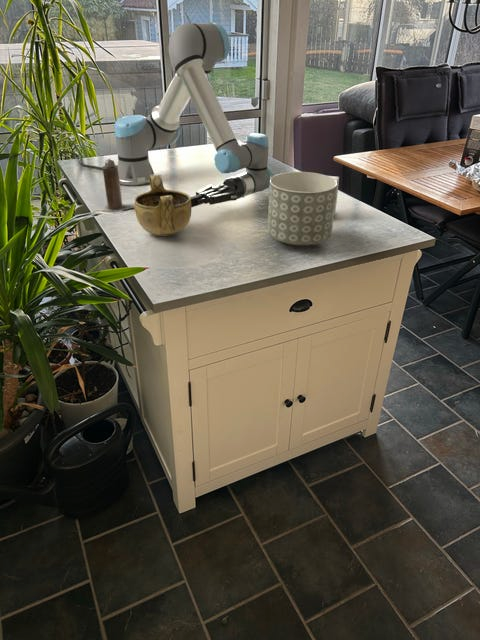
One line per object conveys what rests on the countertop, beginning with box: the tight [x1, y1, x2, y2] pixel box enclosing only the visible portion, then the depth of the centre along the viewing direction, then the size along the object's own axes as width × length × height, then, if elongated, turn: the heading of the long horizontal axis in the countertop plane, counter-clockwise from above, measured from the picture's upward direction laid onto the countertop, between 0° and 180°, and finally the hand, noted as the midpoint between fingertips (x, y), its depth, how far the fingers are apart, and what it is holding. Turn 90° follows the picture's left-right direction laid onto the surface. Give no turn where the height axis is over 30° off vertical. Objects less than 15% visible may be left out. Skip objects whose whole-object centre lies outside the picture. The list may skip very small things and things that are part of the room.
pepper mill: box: [101, 158, 124, 211], centre depth 170 cm, size 5×5×16 cm
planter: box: [267, 171, 337, 248], centre depth 147 cm, size 19×19×18 cm
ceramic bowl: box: [134, 174, 192, 237], centre depth 152 cm, size 22×17×15 cm
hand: (186, 203), depth 158 cm, fingers closed
